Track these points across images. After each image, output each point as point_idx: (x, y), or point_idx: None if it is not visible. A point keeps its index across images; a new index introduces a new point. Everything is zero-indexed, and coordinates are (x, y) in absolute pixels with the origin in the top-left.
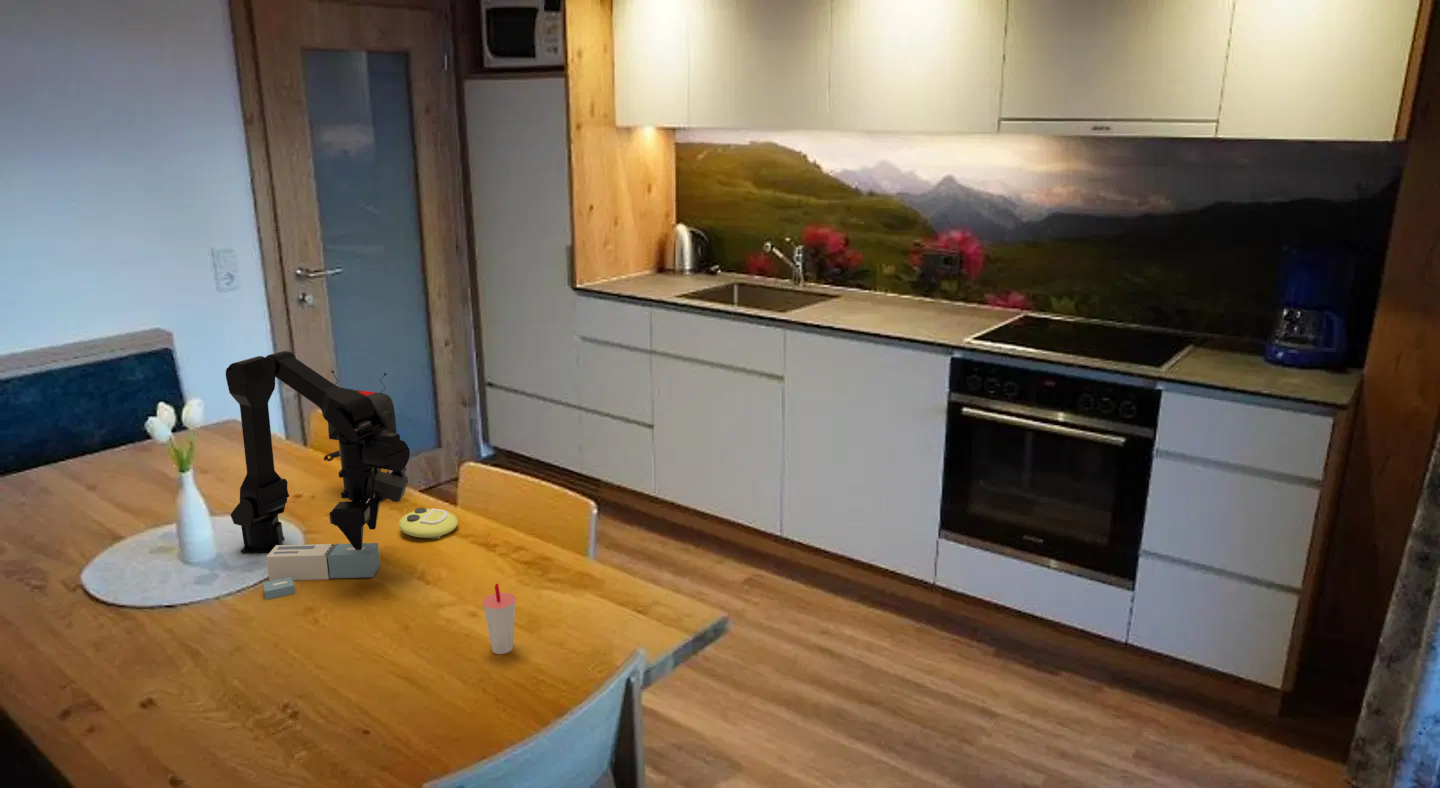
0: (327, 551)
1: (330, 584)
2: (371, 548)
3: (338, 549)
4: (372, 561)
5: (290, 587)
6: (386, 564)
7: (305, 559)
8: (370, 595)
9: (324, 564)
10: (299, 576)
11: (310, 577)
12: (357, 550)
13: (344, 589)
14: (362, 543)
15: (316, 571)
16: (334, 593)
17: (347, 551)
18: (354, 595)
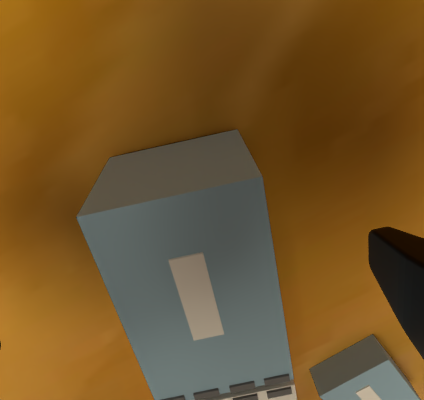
0: (256, 397)
1: (305, 267)
2: (173, 214)
3: (219, 368)
4: (229, 159)
5: (391, 362)
6: (81, 136)
7: None
8: (413, 50)
9: None
10: None
11: None
12: (216, 279)
13: (347, 197)
14: (114, 299)
15: None
16: (381, 217)
17: (236, 320)
18: (405, 128)
